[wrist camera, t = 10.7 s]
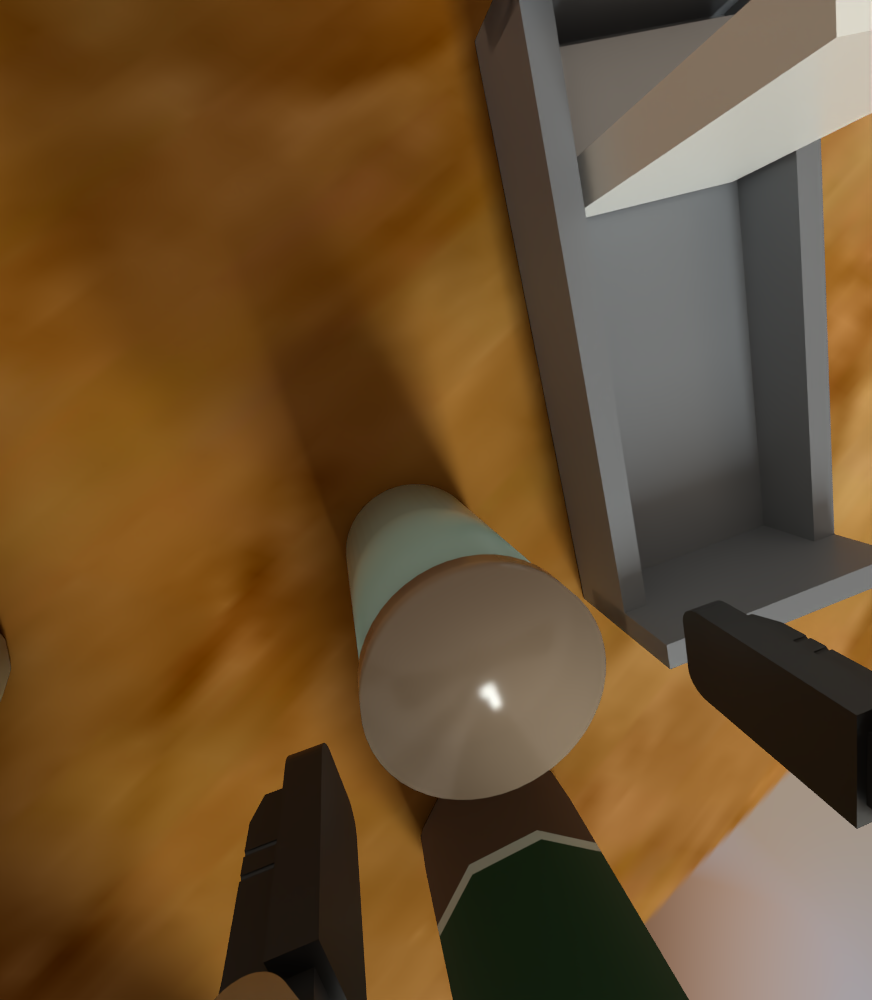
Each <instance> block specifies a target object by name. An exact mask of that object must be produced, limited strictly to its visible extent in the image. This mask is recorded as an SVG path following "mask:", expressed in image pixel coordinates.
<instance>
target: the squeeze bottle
mask: <svg viewBox="0 0 872 1000" xmlns="http://www.w3.org/2000/svg"><path fill="white" fill-rule="evenodd" d="M10 671H11V665H10V660H9V655H8V650H7V646H6V641H5V639H4V638H3V636H2V635H1V634H0V701H1V698H2V696H3V693H4V690H5V686H6V683H7V680H8V677H9V674H10Z"/></svg>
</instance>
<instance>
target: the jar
mask: <svg viewBox="0 0 872 1000" xmlns="http://www.w3.org/2000/svg"><path fill="white" fill-rule="evenodd" d="M346 561H347V569H348V577H349V585H350V593H351V601H352V609H353V617H354V625H355V633H356V641H357V649H358V657H359V663H358V677H357V683H358V692H359V701H360V710H361V718H362V725H363V729H364V732H365V736H366V739H367V741H368V743H369V745H370V747H371V750H372V752H373V753H374V755H375V756H376V758H377V759H378V761H379V762H380V763H381V765H382V766H383V767H384V768H385V769H386V770H387V771H388V772H389V773H390V774H391V775H392V776H394V777H395V778H396V779H398V780H399V781H400V782H401V783H403V784H405V785H407V786H408V787H410V788H412V789H414V790H416V791H419V792H421V793H424V794H427V795H430V796H434V797H439V798H444V799H453V800H473V799H481V798H488V797H492V796H496V795H500V794H503V793H506V792H509V791H512V790H515V789H517V788H519V787H521V786H523V785H525V784H528V783H530V782H531V781H533V780H535V779H536V778H538V777H540V776H541V775H543V774H544V773H546V772H547V771H548V770H550V769H551V768H552V767H554V766H555V765H556V764H557V763H558V762H559V761H561V760H562V759H563V758H564V757H565V756H566V755H567V754H568V753H569V752H570V751H571V749H572V748H573V747H574V746H575V745H576V744H577V743H578V741H579V740H580V738H581V737H582V736H583V734H584V733H585V731H586V730H587V728H588V726H589V724H590V723H591V721H592V719H593V717H594V715H595V713H596V710H597V708H598V705H599V703H600V699H601V696H602V692H603V689H604V682H605V676H606V657H605V648H604V643H603V640H602V636H601V633H600V630H599V628H598V626H597V623H596V621H595V619H594V618H593V616H592V614H591V613H590V611H589V610H588V608H587V607H586V606H585V605H584V604H583V603H582V601H581V600H580V599H579V598H578V597H577V596H576V595H574V594H573V593H572V592H571V591H570V590H568V589H567V588H566V587H565V586H564V585H562V584H561V583H560V582H559V581H558V580H556V579H555V578H554V577H553V576H552V575H551V574H549V573H548V572H546V571H545V570H543V569H542V568H540V567H538V566H537V565H534V564H532V563H531V562H529V561H528V560H527V559H526V558H525V557H524V556H522V555H521V554H520V553H519V552H518V551H517V550H516V549H514V548H513V547H512V546H511V545H510V544H509V543H507V542H506V541H505V540H504V539H503V538H502V537H500V536H499V535H498V534H497V533H496V532H495V531H493V530H492V529H491V528H490V527H489V526H488V525H487V524H485V523H484V522H483V521H482V520H481V519H480V518H478V517H477V516H476V515H475V514H474V513H473V512H471V511H470V510H469V509H468V508H467V507H466V506H464V505H463V504H462V503H461V502H460V501H459V500H457V499H456V498H455V497H454V496H453V495H451V494H449V493H448V492H446V491H444V490H442V489H439V488H437V487H433V486H429V485H423V484H409V485H402V486H398V487H394V488H392V489H389V490H387V491H385V492H383V493H381V494H379V495H378V496H376V497H375V498H373V499H372V500H371V501H370V502H368V503H367V504H366V505H365V506H364V507H363V509H362V510H361V511H360V512H359V513H358V515H357V517H356V518H355V520H354V521H353V524H352V526H351V528H350V531H349V534H348V537H347V543H346Z"/></svg>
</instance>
